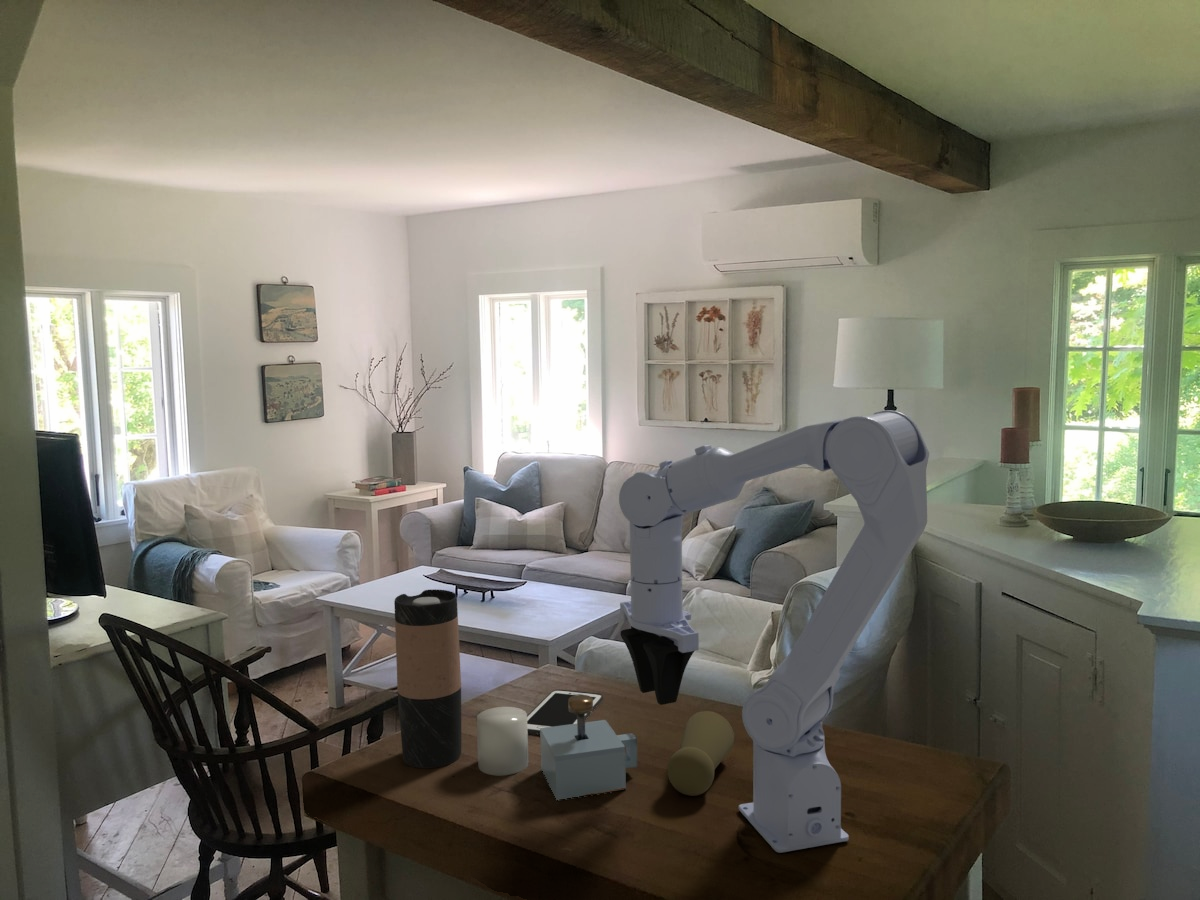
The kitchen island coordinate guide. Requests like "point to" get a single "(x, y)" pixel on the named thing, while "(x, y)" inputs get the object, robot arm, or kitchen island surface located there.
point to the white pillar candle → (502, 740)
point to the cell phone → (556, 710)
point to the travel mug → (428, 677)
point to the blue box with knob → (586, 759)
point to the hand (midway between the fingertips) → (658, 696)
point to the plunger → (580, 711)
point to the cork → (700, 752)
